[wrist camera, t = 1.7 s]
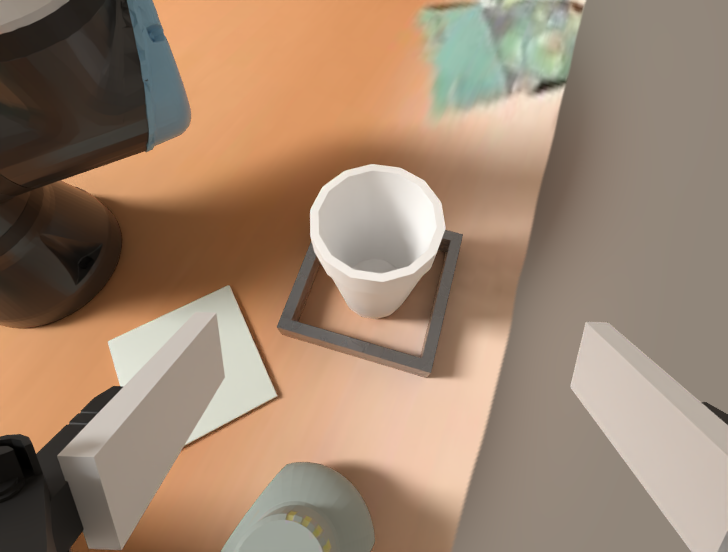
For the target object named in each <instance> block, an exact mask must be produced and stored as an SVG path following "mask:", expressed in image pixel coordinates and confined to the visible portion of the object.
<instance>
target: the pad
mask: <svg viewBox="0 0 728 552" xmlns="http://www.w3.org/2000/svg"><path fill="white" fill-rule="evenodd" d="M195 312H211V313H217V320H218V328H219V335H220V343H221V350H222V358H223V365H224V373H225V378H224V380H223V382H222V383H221V385H220V387H219V388H218V390H217V392H216V393H215V395H214V397H213V398H212V400H211V402H210V403H209V405H208V407H207V408H206V410H205V412H204V413H203V415H202V417H201V418H200V420H199V422H198V423H197V425H196V427H195V428H194V430H193V432H192V433H191V435H190V437H189V438H188V440H187V442H186V443H185V445H184V446H186V445H188V444H190V443H191V442H193V441H195V440H197V439H199V438H201V437H203V436H205V435H206V434H208V433H210V432H212V431H214V430H216V429H218V428H220V427H221V426H223V425H225V424H227V423H229V422H231V421H233V420H235V419H236V418H238V417H240V416H242V415H244V414H246V413H248V412H250V411H251V410H253V409H255V408H257V407H259V406H261V405H263V404H265V403H266V402H268V401H270V400H272V399H274V398H276V397H278V395H277V393H276V391H275V389H274V386H273V384H272V382H271V379H270V377H269V375H268V372H267V370H266V368H265V365H264V363H263V361H262V358H261V356H260V354H259V352H258V349H257V347H256V345H255V342H254V340H253V338H252V335H251V333H250V331H249V328H248V326H247V324H246V321H245V319H244V317H243V315H242V312H241V310H240V308H239V305H238V303H237V301H236V298H235V296H234V294H233V291H232V289H231V287H230V285H228V286H225V287H223V288H221V289H219V290H217V291H215V292H213V293H210V294H208V295H206V296H204V297H202V298H200V299H198V300H195V301H193V302H191V303H189V304H187V305H185V306H183V307H180V308H178V309H176V310H174V311H172V312H170V313H168V314H165V315H163V316H161V317H159V318H157V319H155V320H153V321H150V322H148V323H146V324H144V325H142V326H140V327H138V328H135V329H133V330H131V331H129V332H127V333H125V334H122V335H120V336H118V337H116V338H114V339H112V340H110V341H108V344H109V348H110V352H111V355H112V359H113V362H114V366H115V369H116V373H117V376H118V380H119V383H120V386H125V385H126V384H127V383H128V382H129V381H130V380H131V378H132V377H133V376H134V375H135V374H136V373H137V372H138V371H139V370H140V369H141V368H142V367H143V366H144V365H145V364H146V363H147V362H148V361H149V360H150V359H151V358H152V357H153V356H154V355H155V354H156V353H157V351H158V350H159V349H160V348H161V347H162V346H163V345H164V344H165V343H166V342H167V341H168V340H169V339H170V338H171V337H172V336H173V335H174V334H175V333H176V332H177V331H178V330H179V329H180V328H181V327H182V326H183V324H184V323H185V322H186V321H187V320H188V319H189V318H190V317H191V316H192V315H193V314H194V313H195Z"/></svg>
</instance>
